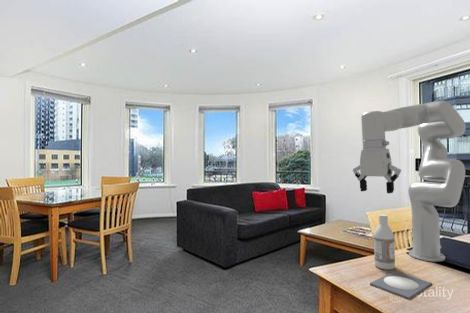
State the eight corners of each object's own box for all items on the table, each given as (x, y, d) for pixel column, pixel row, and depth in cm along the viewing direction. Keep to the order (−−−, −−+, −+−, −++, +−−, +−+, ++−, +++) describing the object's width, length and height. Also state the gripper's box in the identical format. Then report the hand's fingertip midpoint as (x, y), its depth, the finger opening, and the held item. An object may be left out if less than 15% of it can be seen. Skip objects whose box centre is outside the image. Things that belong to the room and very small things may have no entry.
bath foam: (389, 271, 102) (387, 217, 103) (371, 266, 108) (369, 214, 108) (398, 267, 106) (397, 215, 106) (380, 262, 112) (379, 212, 112)
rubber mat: (394, 272, 101) (394, 270, 101) (431, 284, 91) (431, 282, 92) (370, 284, 92) (370, 282, 92) (408, 299, 83) (408, 297, 83)
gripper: (404, 143, 96) (406, 192, 97) (357, 146, 111) (359, 189, 111) (393, 144, 92) (396, 195, 92) (346, 147, 106) (349, 191, 106)
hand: (376, 191), depth 101 cm, fingers open, 9 cm apart
